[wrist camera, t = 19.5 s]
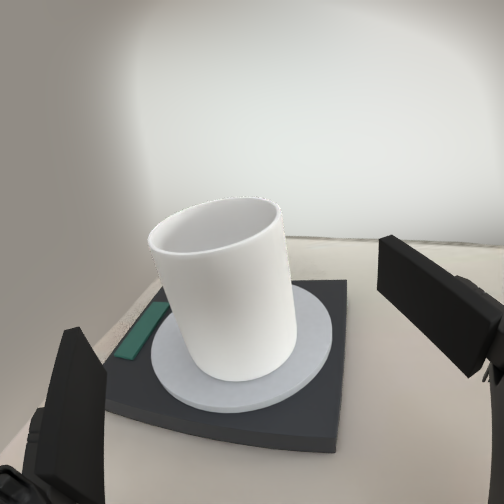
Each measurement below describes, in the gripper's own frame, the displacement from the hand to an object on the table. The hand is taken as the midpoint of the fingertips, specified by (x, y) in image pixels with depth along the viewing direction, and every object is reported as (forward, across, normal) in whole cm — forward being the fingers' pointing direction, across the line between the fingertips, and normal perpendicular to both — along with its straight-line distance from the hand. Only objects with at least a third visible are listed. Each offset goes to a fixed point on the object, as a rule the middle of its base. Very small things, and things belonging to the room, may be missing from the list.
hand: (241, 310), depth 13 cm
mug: (+10, 0, -10) cm, 14 cm away
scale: (+10, -1, -13) cm, 16 cm away
